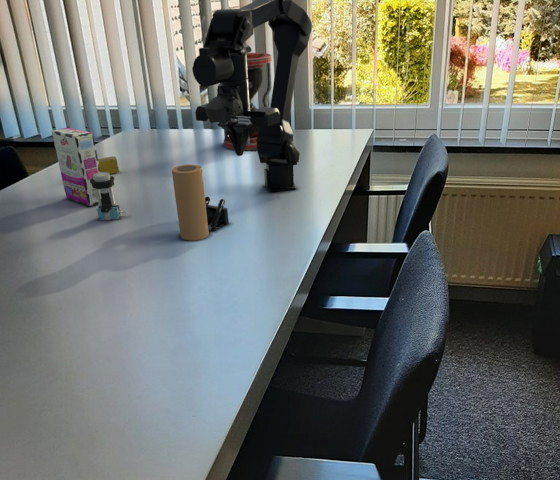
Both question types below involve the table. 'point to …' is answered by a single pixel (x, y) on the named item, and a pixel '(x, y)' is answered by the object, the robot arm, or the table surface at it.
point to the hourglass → (254, 92)
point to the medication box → (108, 165)
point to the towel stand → (216, 214)
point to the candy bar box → (77, 163)
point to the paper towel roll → (190, 202)
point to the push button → (105, 196)
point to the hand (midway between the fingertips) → (239, 155)
